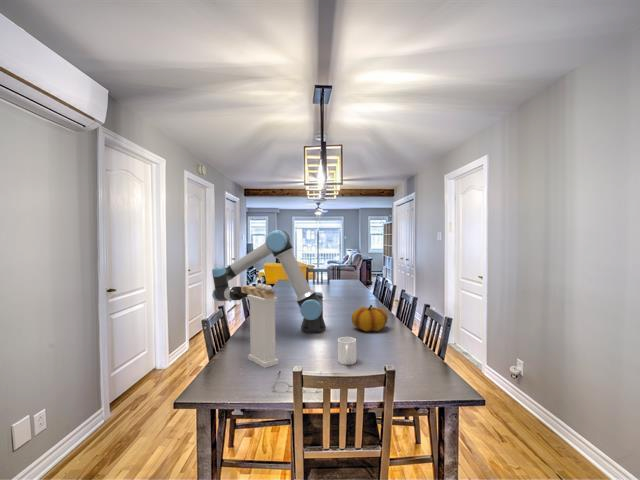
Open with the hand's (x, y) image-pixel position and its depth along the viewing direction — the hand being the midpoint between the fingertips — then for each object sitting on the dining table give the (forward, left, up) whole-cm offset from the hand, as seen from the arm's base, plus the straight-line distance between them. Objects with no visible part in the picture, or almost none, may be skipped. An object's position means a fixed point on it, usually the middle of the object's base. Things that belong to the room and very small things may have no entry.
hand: (261, 291), depth 181 cm
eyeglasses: (-18, +45, -29) cm, 57 cm away
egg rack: (0, +18, +1) cm, 18 cm away
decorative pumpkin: (-62, -25, -29) cm, 73 cm away
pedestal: (-2, +22, -29) cm, 36 cm away
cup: (-40, +28, -29) cm, 57 cm away
